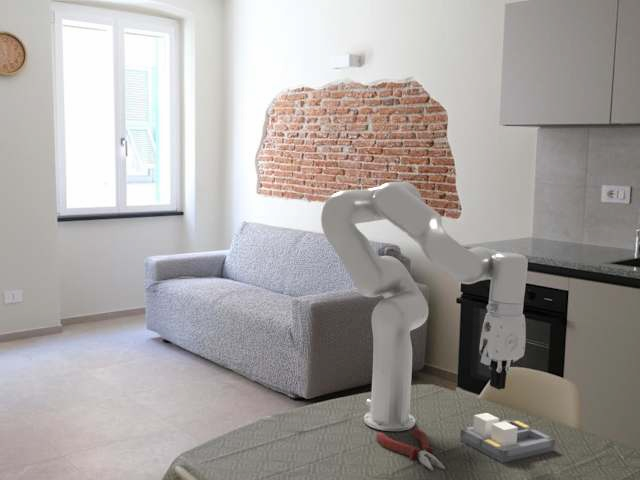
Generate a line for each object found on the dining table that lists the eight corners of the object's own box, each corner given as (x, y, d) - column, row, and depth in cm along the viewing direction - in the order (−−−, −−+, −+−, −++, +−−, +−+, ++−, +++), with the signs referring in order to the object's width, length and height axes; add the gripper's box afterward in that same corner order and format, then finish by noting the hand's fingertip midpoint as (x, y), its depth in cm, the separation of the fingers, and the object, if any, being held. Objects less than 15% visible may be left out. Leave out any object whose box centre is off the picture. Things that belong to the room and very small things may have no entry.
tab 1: (472, 435, 173) (474, 415, 173) (485, 433, 175) (487, 412, 175) (484, 442, 170) (485, 421, 169) (497, 439, 172) (499, 418, 171)
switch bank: (460, 439, 174) (460, 428, 174) (510, 429, 182) (511, 418, 182) (502, 462, 162) (502, 450, 162) (554, 450, 170) (555, 438, 170)
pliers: (414, 478, 154) (415, 466, 154) (373, 441, 173) (374, 430, 173) (462, 471, 158) (463, 460, 158) (417, 436, 177) (418, 426, 177)
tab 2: (490, 445, 168) (491, 424, 168) (503, 442, 170) (505, 421, 170) (502, 451, 165) (504, 430, 164) (516, 448, 167) (517, 427, 166)
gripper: (492, 314, 158) (484, 397, 161) (541, 310, 166) (533, 388, 169) (468, 306, 165) (460, 385, 167) (517, 302, 173) (509, 378, 175)
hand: (497, 387), depth 168 cm, fingers closed
